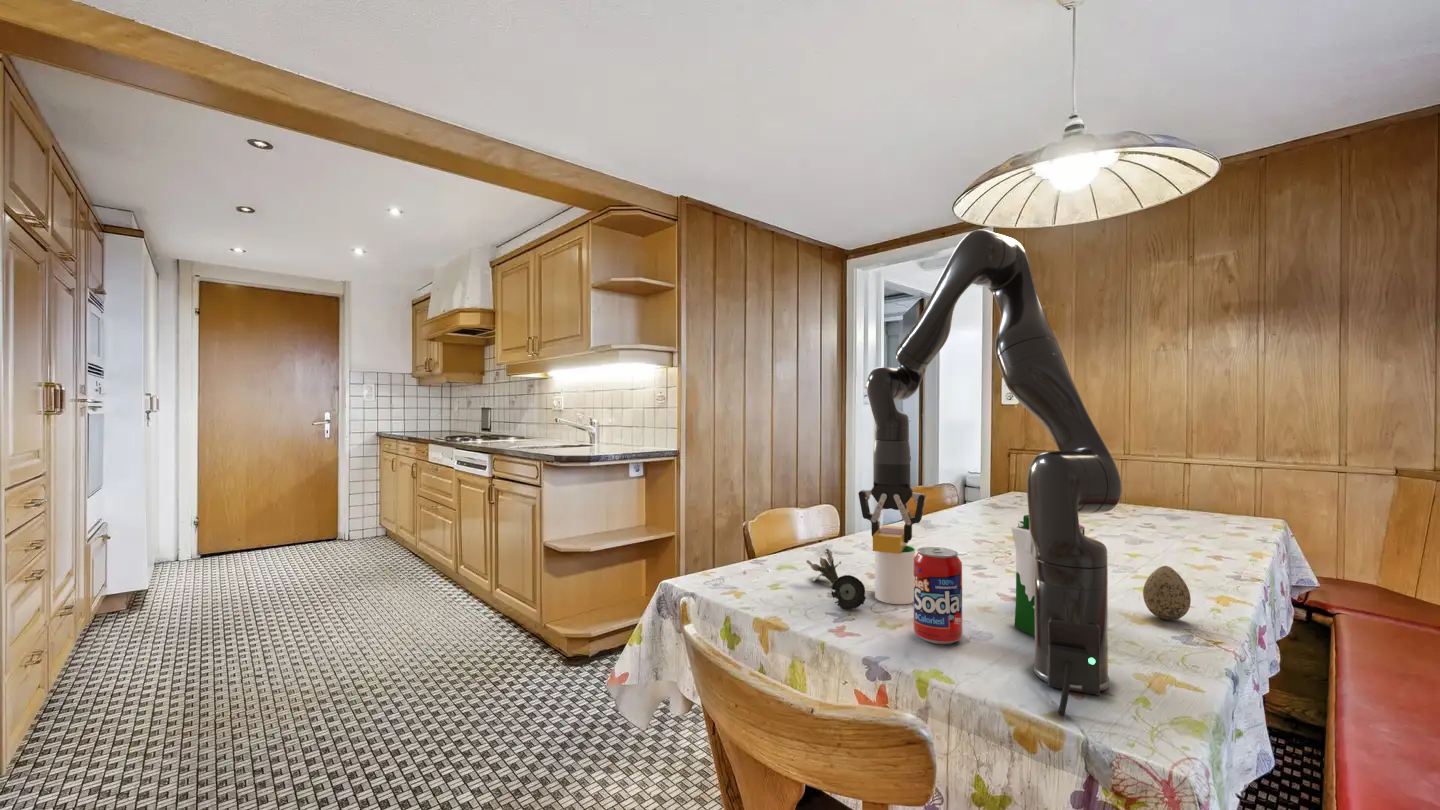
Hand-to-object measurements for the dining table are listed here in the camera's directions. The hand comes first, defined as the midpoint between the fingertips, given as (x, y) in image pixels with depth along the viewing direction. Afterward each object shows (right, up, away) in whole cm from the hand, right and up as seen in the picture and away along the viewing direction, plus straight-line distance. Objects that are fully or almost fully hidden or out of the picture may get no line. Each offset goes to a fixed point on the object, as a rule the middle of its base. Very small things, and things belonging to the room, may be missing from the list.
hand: (891, 540), depth 126 cm
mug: (0, -12, 0) cm, 12 cm away
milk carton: (+21, -12, -21) cm, 32 cm away
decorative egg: (+47, -12, -15) cm, 51 cm away
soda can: (+1, -12, -24) cm, 27 cm away
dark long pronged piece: (-12, -12, +2) cm, 17 cm away
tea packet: (0, -1, 0) cm, 1 cm away
